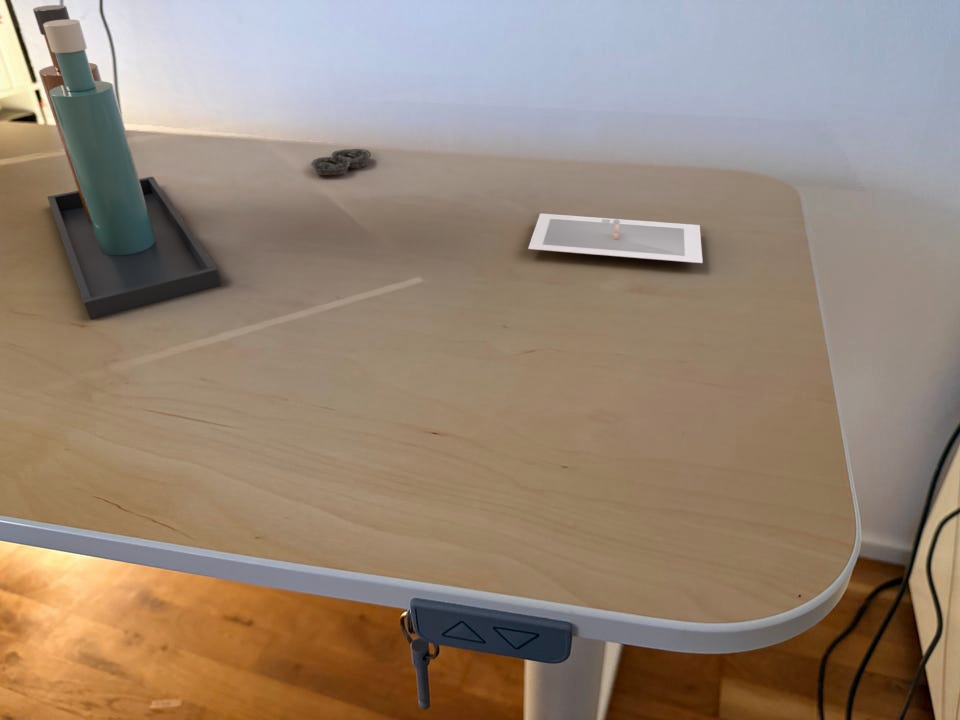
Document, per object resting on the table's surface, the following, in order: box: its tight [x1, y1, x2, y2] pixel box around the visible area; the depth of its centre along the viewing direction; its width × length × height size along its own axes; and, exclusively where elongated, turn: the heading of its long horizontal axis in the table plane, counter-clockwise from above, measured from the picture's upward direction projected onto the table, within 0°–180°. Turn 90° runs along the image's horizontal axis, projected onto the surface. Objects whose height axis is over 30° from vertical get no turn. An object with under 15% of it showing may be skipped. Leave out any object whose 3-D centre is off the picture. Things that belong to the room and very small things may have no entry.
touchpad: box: [527, 213, 703, 264], centre depth 68 cm, size 8×15×2 cm, turn 78°
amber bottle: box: [32, 4, 103, 223], centre depth 69 cm, size 5×5×19 cm
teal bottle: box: [43, 18, 156, 256], centre depth 64 cm, size 5×5×19 cm
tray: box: [47, 176, 222, 320], centre depth 69 cm, size 25×10×2 cm, turn 31°
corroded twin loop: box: [310, 148, 372, 176], centre depth 86 cm, size 5×8×1 cm, turn 144°
